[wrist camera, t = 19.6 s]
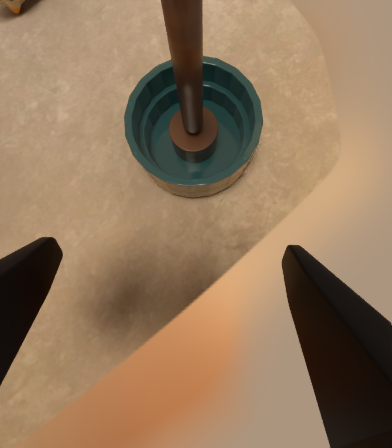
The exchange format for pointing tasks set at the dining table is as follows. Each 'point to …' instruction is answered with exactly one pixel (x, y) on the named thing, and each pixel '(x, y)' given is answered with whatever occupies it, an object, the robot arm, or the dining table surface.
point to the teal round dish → (212, 99)
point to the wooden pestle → (189, 82)
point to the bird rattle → (13, 4)
